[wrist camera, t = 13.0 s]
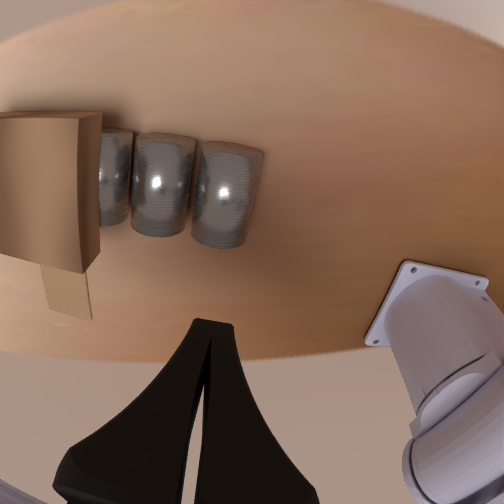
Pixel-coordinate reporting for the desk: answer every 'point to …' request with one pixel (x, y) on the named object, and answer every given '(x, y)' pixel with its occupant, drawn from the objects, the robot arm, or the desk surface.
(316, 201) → the desk surface
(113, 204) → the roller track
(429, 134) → the desk surface
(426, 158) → the desk surface
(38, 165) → the slab
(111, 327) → the desk surface
